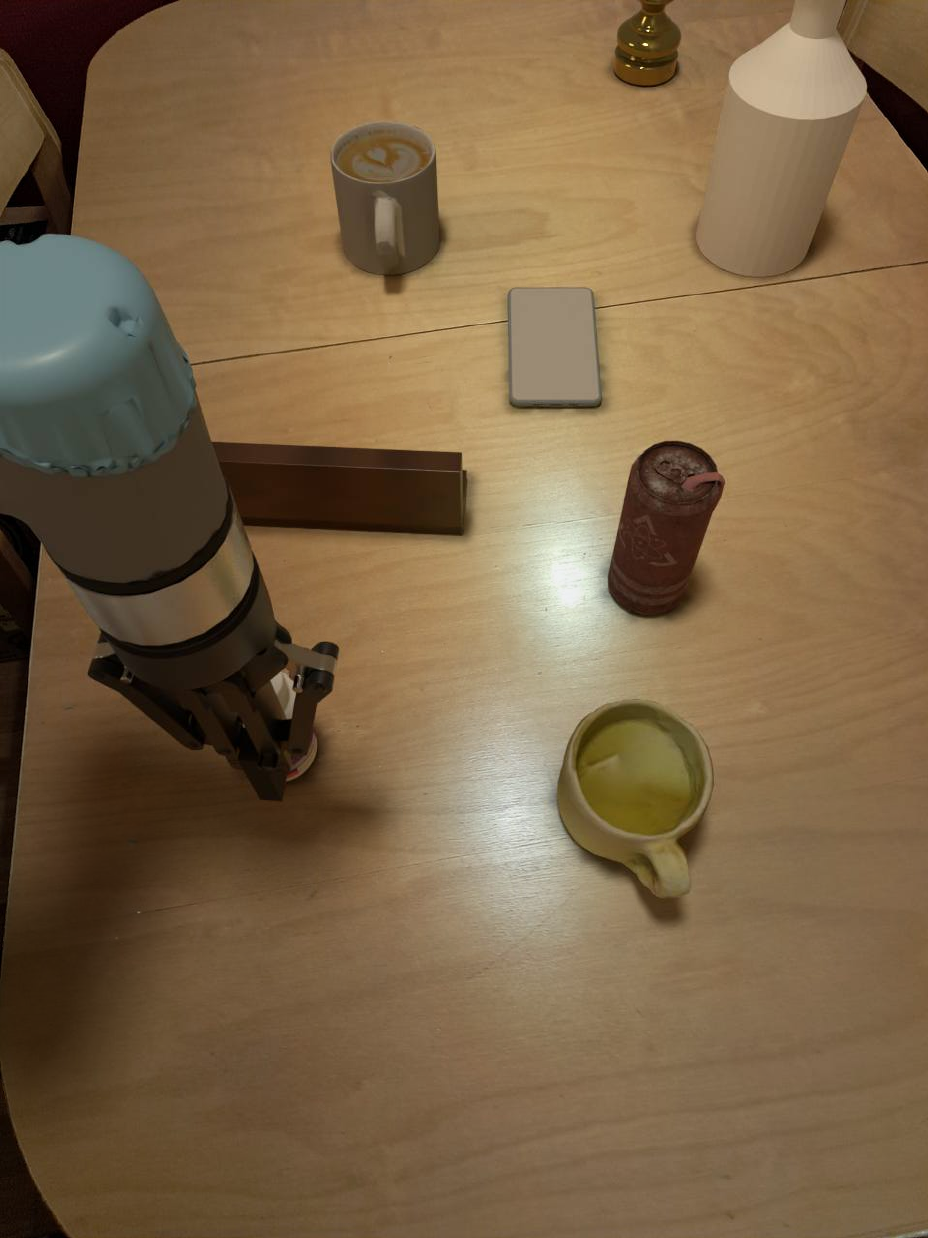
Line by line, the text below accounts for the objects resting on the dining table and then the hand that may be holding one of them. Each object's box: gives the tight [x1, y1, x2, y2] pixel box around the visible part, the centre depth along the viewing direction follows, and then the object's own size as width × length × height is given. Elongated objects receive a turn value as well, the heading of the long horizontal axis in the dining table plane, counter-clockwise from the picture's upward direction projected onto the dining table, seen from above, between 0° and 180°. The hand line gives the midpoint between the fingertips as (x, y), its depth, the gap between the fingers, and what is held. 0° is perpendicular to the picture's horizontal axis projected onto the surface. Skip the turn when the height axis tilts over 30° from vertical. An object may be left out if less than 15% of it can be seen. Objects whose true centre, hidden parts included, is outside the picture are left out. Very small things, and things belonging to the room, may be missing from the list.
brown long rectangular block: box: [211, 441, 468, 536], centre depth 76 cm, size 22×6×8 cm, turn 86°
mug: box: [556, 698, 715, 899], centre depth 61 cm, size 12×10×10 cm
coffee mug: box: [329, 120, 441, 276], centre depth 91 cm, size 13×10×10 cm
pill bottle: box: [243, 670, 318, 782], centre depth 63 cm, size 5×5×10 cm
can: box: [607, 440, 726, 615], centre depth 68 cm, size 6×6×14 cm
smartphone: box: [507, 286, 603, 407], centre depth 88 cm, size 8×1×15 cm
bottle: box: [695, 0, 868, 278], centre depth 85 cm, size 12×12×25 cm
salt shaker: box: [613, 0, 682, 87], centre depth 108 cm, size 7×7×10 cm
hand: (274, 781), depth 62 cm, fingers closed
